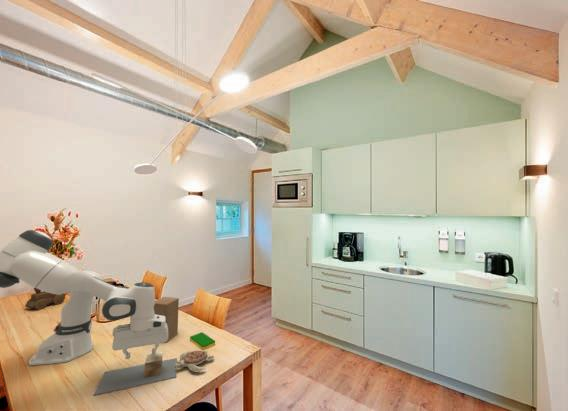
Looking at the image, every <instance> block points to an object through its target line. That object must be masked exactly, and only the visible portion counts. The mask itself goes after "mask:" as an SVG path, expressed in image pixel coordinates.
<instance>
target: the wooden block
mask: <svg viewBox="0 0 568 411" xmlns="http://www.w3.org/2000/svg"><path fill="white" fill-rule="evenodd" d="M179 299H180V298H179V297H178V298H177V297H170V296H169V297H168V296H162V297H161V298H158V299H155V304H154V312H155V314H156V315H162V316H165V317H166V323H167V326H168V340H167V341H166V342H164V343H165V344H166V343H168V342H169V341H170V340H172V338H174V337H176V336H177V335H178V333H179V331H178V329H179V328H178V327H179V303H180V301H179Z"/></svg>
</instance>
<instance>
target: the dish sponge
mask: <svg viewBox="0 0 568 411" xmlns="http://www.w3.org/2000/svg"><path fill="white" fill-rule="evenodd" d="M189 337H190V339H189V341H190V342H192V344H194V345H195V346H196V347H198V348H199V349H200V350H201V351H206V350H207V349H209V348H212V347H214V346H215V345H216V340H214V339H213V338H212V337H210V336H209V335H207V334H205V333H204V332H199V333H196V334H193V335H190V336H189Z"/></svg>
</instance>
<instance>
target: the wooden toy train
mask: <svg viewBox="0 0 568 411" xmlns="http://www.w3.org/2000/svg"><path fill="white" fill-rule="evenodd" d="M33 291H34V292H35V293H32V294H31V295H30V298H29V299H28V300H27V301H26V304H25V305H24V307H25V308H28V309H35V310H38V311H39V310H41V311H42V310H43V309H44V308H45V307H46V306H47V305H49V304H51V303H52V304H54V305H55V306H57V305H60V304H62V303H63V302H64V300H65V299H66V294H59V295H57V294H52V293H48V292H44V291H42V290H39V289H37V288H35V287H33Z"/></svg>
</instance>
